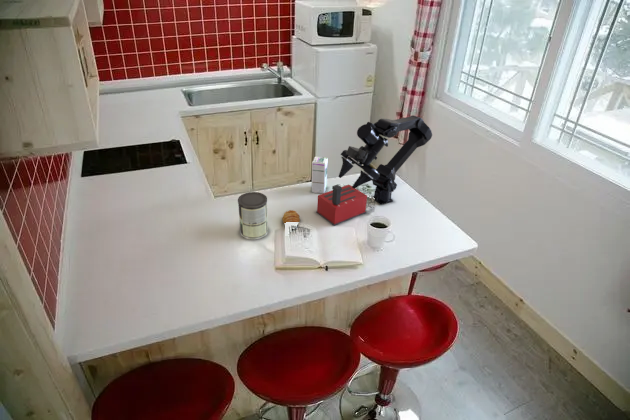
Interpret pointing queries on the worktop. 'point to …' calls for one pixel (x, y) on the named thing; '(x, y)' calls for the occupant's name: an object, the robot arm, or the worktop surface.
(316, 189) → the syrup box
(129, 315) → the worktop surface
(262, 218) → the coffee can
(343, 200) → the toaster
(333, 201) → the slider
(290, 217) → the pastry
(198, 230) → the worktop surface
